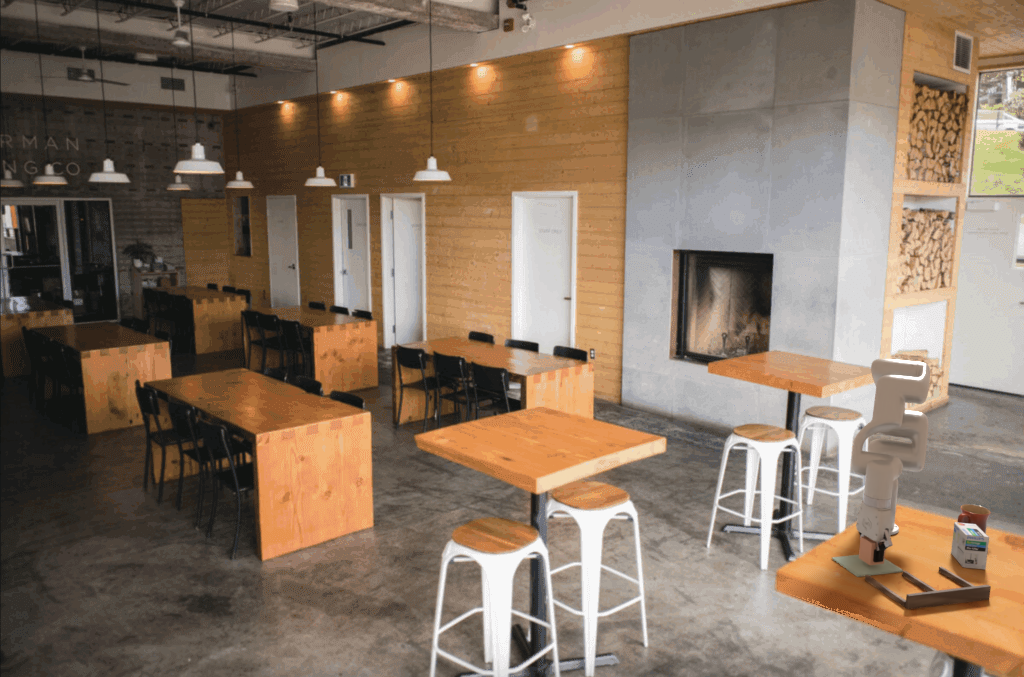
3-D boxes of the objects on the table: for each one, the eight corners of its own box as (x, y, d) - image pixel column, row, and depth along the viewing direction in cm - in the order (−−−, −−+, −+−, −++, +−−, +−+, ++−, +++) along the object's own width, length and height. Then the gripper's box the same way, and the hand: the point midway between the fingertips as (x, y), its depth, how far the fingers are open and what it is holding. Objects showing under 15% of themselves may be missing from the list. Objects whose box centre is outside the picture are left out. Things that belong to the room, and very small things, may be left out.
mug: (968, 531, 261) (971, 502, 259) (993, 541, 253) (996, 512, 251) (944, 536, 256) (947, 507, 255) (968, 547, 248) (972, 517, 247)
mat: (831, 559, 238) (831, 557, 238) (875, 554, 242) (875, 552, 242) (857, 576, 227) (857, 575, 226) (902, 571, 230) (903, 570, 230)
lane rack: (864, 579, 225) (865, 567, 224) (941, 571, 231) (942, 558, 230) (907, 609, 208) (909, 596, 207) (989, 599, 214) (990, 586, 214)
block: (858, 557, 234) (860, 536, 233) (872, 556, 235) (874, 535, 234) (869, 565, 229) (871, 543, 228) (883, 563, 231) (886, 542, 229)
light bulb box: (986, 570, 232) (990, 537, 230) (962, 568, 233) (966, 535, 232) (972, 555, 243) (976, 523, 241) (949, 553, 244) (953, 521, 242)
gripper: (847, 491, 236) (842, 546, 239) (886, 513, 220) (880, 571, 223) (868, 490, 238) (863, 544, 241) (908, 510, 222) (902, 568, 225)
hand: (871, 556), depth 232 cm, fingers closed on block, 5 cm apart
